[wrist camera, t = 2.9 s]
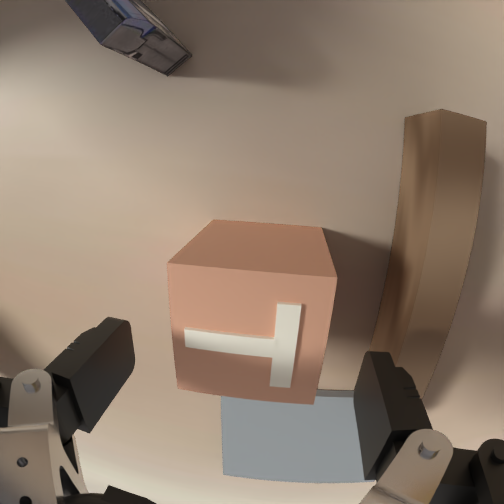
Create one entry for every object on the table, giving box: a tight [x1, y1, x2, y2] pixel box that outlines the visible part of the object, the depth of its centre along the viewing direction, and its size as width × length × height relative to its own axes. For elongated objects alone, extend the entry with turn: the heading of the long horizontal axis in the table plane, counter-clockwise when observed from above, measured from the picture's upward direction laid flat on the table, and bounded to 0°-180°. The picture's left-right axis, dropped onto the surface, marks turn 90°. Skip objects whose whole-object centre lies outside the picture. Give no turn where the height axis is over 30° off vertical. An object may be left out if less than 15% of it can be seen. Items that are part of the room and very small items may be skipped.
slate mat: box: [221, 390, 375, 483], centre depth 19 cm, size 10×12×1 cm
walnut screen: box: [369, 109, 487, 400], centre depth 13 cm, size 16×2×4 cm, turn 178°
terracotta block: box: [167, 220, 338, 405], centre depth 13 cm, size 5×5×6 cm
